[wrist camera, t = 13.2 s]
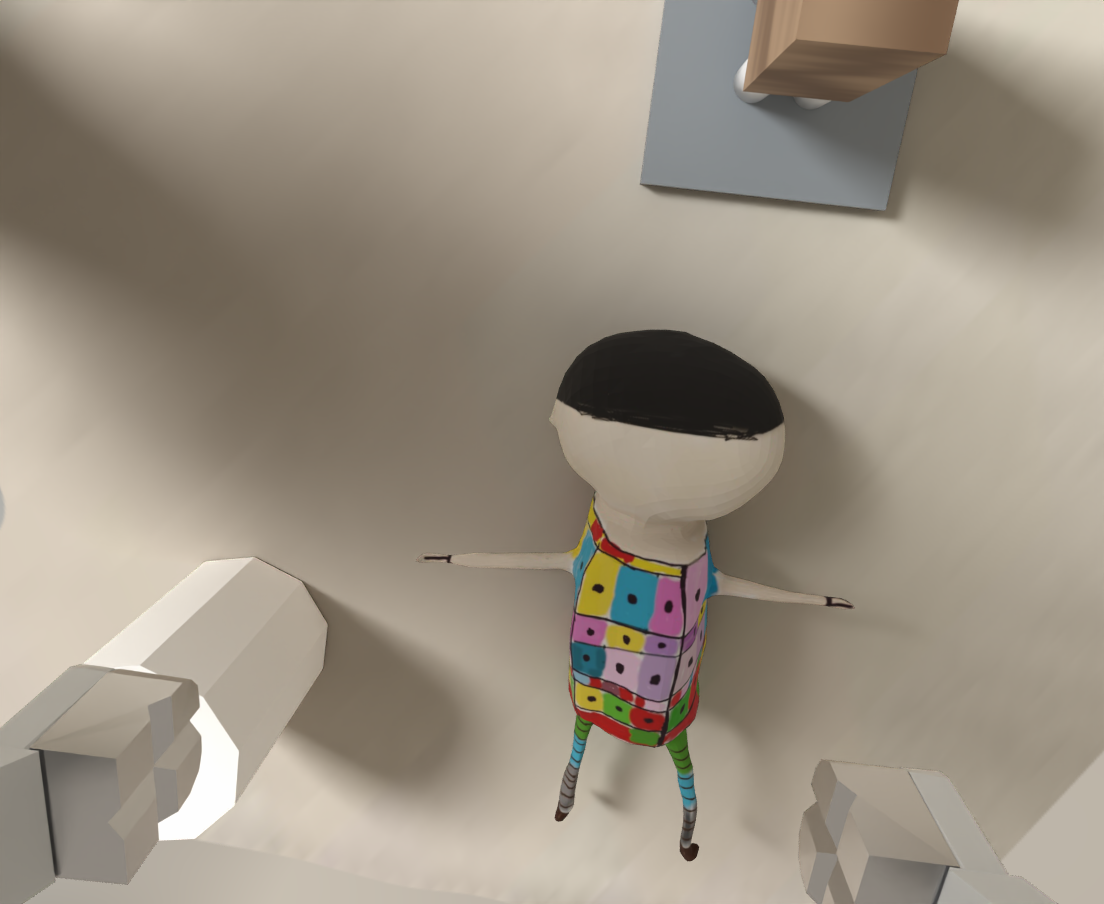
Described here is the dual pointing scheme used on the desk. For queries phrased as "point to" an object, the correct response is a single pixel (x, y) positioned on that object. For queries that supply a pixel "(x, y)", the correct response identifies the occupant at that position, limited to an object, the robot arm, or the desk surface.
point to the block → (843, 45)
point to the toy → (653, 531)
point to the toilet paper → (228, 670)
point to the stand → (761, 121)
